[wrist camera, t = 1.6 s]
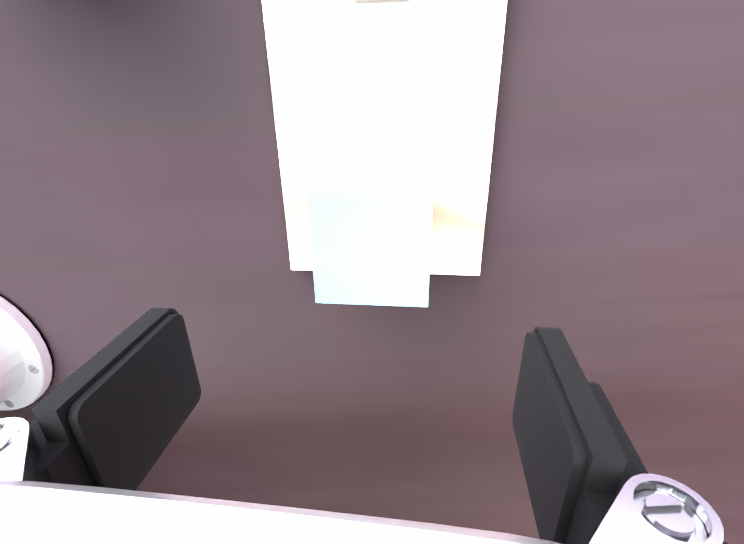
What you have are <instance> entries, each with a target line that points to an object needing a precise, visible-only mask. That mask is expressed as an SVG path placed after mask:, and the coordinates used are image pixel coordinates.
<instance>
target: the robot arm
mask: <svg viewBox="0 0 744 544" xmlns="http://www.w3.org/2000/svg"><path fill="white" fill-rule="evenodd" d="M51 379H52V363H51V358H50V354H49V351H48V349H47V346H46V344H45V342H44V340H43V339H42V337H41V335H40V334H39V332H38V331H37V329H36V328H35V327H34V326H33V324H32V323H31V322H30V321H29V320H28V319H27V318H26V317H25V316H24V315H23V314H22V313H21V312H20V311H19V310H18V309H17V308H16V307H14V306H13V305H12V304H11V303H9V302H8V301H7V300H5V299H4V298H2V297H1V296H0V410H16V409H20V408H24V407H26V406H28V405H30V404H32V403H33V402H34V401H35V400H37V399H38V398H39V397H40V396H41V395H43V394H44V392H45V391H46V390H47V388H48V387H49V384H50V382H51ZM200 395H201V388H200V384H199V380H198V376H197V372H196V368H195V364H194V360H193V356H192V351H191V347H190V343H189V339H188V335H187V331H186V327H185V323H184V319H183V317H182V315H180V314H178V312H177V311H176V310H175V309H170V308H152V309H150V310H149V311H147V312H146V313H145V314H144V315H143V316H141V317H140V318H139V319H138V320H137V321H135V322H134V323H133V324H132V325H131V326H129V327H128V328H127V329H126V330H125V331H123V332H122V333H121V334H120V335H119V336H118V337H116V338H115V339H114V340H113V341H112V342H110V343H109V344H108V345H107V346H106V347H104V348H103V349H102V350H101V351H100V352H98V353H97V354H96V355H95V356H94V357H92V358H91V359H90V360H89V361H88V362H86V363H85V364H84V365H83V366H82V367H80V368H79V369H78V370H77V371H76V372H74V373H73V374H72V375H71V376H70V377H68V378H67V379H66V380H65V381H64V382H63V383H61V384H60V385H59V386H58V387H57V388H55V389H54V390H53V391H52V392H51V393H49V394H48V395H47V396H46V397H45V398H43V399H42V400H41V401H40V402H39V403H37V404H36V405H35V406H34V407H33V408H31V409H32V411H33V413H34V415H35V417H36V419H35V420H34V421H32V422H31V423H30V424H29V423H28V422H27V421H26V420H25V419H23V418H18V417H10V418H2V419H0V544H727V543H726V542H724V528H723V526H722V523H721V521H720V518H719V516H718V515H717V514H716V512H715V511H714V510H713V508H712V507H711V506H710V504H709V503H707V502H706V501H705V500H704V499H703V498H702V497H701V496H700V495H699V494H698V493H696V492H695V491H693V490H692V489H690V488H689V487H687V486H685V485H684V484H682V483H680V482H678V481H675V480H673V479H671V478H669V477H665V476H661V475H657V474H648V472H647V471H646V469H645V467H644V465H643V463H642V462H641V460H640V458H639V456H638V454H637V452H636V451H635V449H634V447H633V445H632V443H631V441H630V440H629V438H628V436H627V434H626V432H625V430H624V429H623V427H622V425H621V423H620V421H619V419H618V418H617V416H616V414H615V412H614V410H613V408H612V407H611V405H610V403H609V401H608V399H607V397H606V396H605V394H604V392H603V390H602V389H601V387H600V386H599V385H598V384H596V383H591V382H588V381H587V379H586V378H585V376H584V374H583V372H582V370H581V368H580V366H579V364H578V362H577V360H576V358H575V356H574V354H573V352H572V350H571V348H570V346H569V344H568V342H567V341H566V339H565V337H564V335H563V333H562V331H561V329H559V328H545V327H536V328H535V329H534V332H533V333H532V332H527V334H526V337H525V343H524V349H523V355H522V361H521V367H520V373H519V379H518V385H517V391H516V397H515V403H514V409H513V427H514V431H515V435H516V440H517V444H518V448H519V452H520V457H521V461H522V465H523V469H524V474H525V478H526V482H527V486H528V490H529V495H530V499H531V503H532V507H533V512H534V516H535V520H536V524H537V528H538V533H539V537H540V539H537V538H532V537H526V536H520V535H515V534H509V533H502V532H495V531H487V530H479V529H472V528H464V527H457V526H449V525H441V524H434V523H426V522H417V521H408V520H399V519H391V518H382V517H373V516H364V515H356V514H347V513H338V512H330V511H321V510H312V509H303V508H294V507H284V506H275V505H266V504H257V503H248V502H239V501H229V500H220V499H211V498H201V497H192V496H182V495H173V494H163V493H153V492H143V491H135V490H136V489H137V487H138V486H139V485H140V483H141V482H142V480H143V479H144V478H145V476H146V475H147V473H148V472H149V471H150V469H151V468H152V466H153V465H154V463H155V462H156V461H157V459H158V458H159V456H160V455H161V454H162V452H163V451H164V449H165V448H166V447H167V445H168V444H169V442H170V441H171V440H172V438H173V437H174V435H175V434H176V432H177V431H178V430H179V428H180V427H181V425H182V424H183V423H184V421H185V420H186V418H187V417H188V416H189V414H190V413H191V411H192V410H193V409H194V407H195V406H196V404H197V403H198V401H199V399H200Z"/></svg>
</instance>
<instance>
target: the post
mask: <svg viewBox="0 0 744 544" xmlns="http://www.w3.org/2000/svg"><path fill="white" fill-rule="evenodd" d="M350 1H351V2H352V3H353V4H360V3H386V2H410V0H350Z"/></svg>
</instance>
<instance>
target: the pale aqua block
mask: <svg viewBox="0 0 744 544" xmlns="http://www.w3.org/2000/svg"><path fill="white" fill-rule="evenodd" d="M307 205H308V217H309V229H310V240H311V252H312V264H313V276H314V287H315V299H316V303H333V304H359V305H384V306H410V307H428V295H429V273H430V250H431V228H432V205H433V189H432V177H431V166H430V165H373V164H335V165H334V166H333V167H332V168H331V169H330V170H329V171H328V172H327V173H326V174H325V175H324V176H323V177H322V178H321V179H320V180H319V181H318V182H317V183H316V184H315V185H314V186H313V187H312V188H311V189H310V190H309V191H308V192H307Z"/></svg>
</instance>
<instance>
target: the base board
mask: <svg viewBox="0 0 744 544" xmlns="http://www.w3.org/2000/svg"><path fill="white" fill-rule="evenodd" d="M262 7H263V16H264V25H265V35H266V44H267V53H268V62H269V71H270V80H271V90H272V99H273V108H274V117H275V126H276V135H277V145H278V154H279V163H280V172H281V181H282V190H283V200H284V209H285V218H286V227H287V236H288V245H289V255H290V264H291V270H312V271H313V264H312V252H311V240H310V229H309V217H308V205H307V192H308V191H309V190H310V189H311V188H312V187H313V186H314V185H315V184H316V183H317V182H318V181H319V180H320V179H321V178H322V177H323V176H324V175H325V174H326V173H327V172H328V171H329V170H330V169H331V168H332V167H333V166H334V165H335V164H373V165H430V166H431V177H432V189H433V205H432V228H431V250H430V273H429V274H443V275H476V276H480V267H481V257H482V247H483V237H484V227H485V217H486V208H487V198H488V188H489V178H490V168H491V158H492V148H493V138H494V128H495V118H496V108H497V98H498V88H499V78H500V68H501V59H502V49H503V39H504V29H505V19H506V9H507V0H410V2H386V3H360V4H353V3H352V2H351V1H350V0H262Z"/></svg>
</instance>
